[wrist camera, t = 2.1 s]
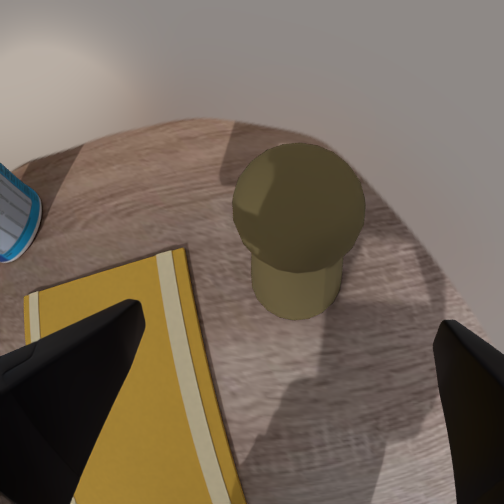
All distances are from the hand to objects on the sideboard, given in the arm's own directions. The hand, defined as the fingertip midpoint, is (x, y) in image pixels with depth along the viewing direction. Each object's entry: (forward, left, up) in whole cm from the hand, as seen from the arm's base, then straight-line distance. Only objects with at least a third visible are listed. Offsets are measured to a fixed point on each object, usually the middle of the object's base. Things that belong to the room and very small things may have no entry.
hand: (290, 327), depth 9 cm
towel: (-1, +13, -11) cm, 18 cm away
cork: (+5, -2, -12) cm, 13 cm away
